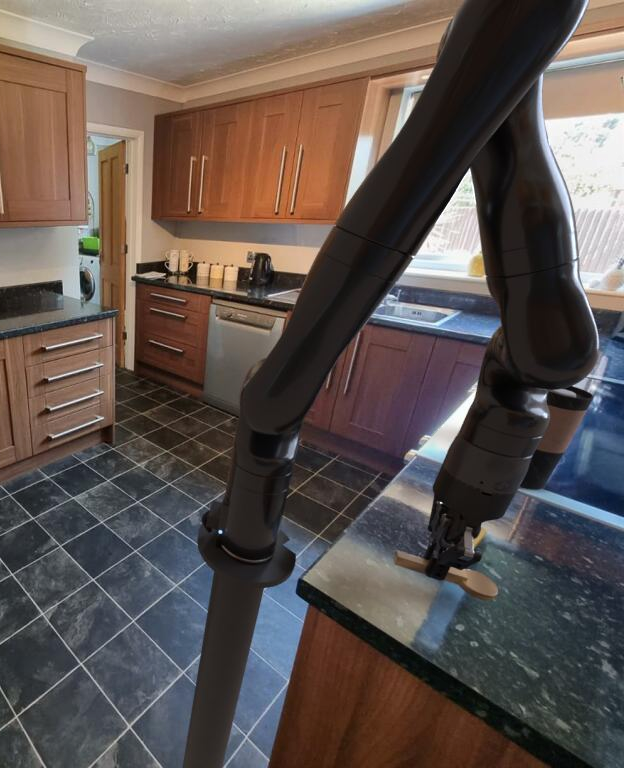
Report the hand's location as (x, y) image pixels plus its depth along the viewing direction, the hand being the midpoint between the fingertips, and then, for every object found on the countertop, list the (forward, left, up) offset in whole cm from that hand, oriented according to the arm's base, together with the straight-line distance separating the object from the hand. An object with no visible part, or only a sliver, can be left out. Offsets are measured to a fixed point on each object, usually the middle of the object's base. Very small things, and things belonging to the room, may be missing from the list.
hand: (432, 571), depth 60 cm
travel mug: (+23, +40, -3) cm, 46 cm away
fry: (+9, +14, -3) cm, 16 cm away
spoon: (+1, 0, 0) cm, 1 cm away
